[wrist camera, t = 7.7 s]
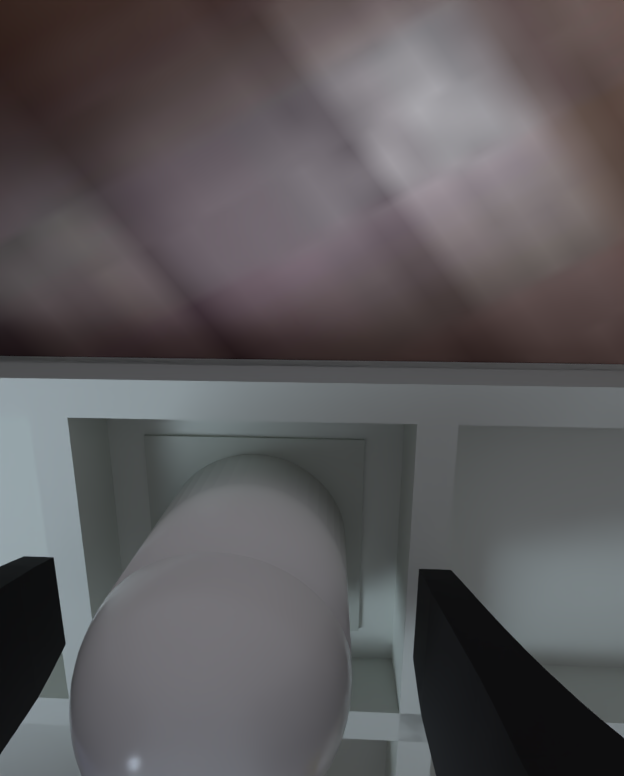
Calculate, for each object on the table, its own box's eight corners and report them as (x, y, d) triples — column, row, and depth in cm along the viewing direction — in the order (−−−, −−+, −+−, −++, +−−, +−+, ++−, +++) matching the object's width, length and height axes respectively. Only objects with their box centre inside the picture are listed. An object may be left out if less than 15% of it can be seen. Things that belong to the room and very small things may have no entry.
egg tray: (650, 877, 15) (708, 989, 13) (-90, 834, 16) (-162, 930, 14) (774, 366, 11) (891, 391, 9) (-216, 352, 12) (-348, 372, 10)
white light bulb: (342, 616, 12) (355, 954, 6) (172, 611, 12) (22, 936, 6) (347, 456, 11) (366, 675, 5) (160, 452, 11) (-33, 660, 5)
